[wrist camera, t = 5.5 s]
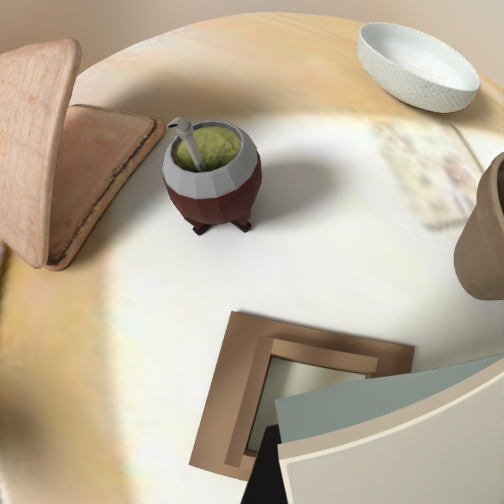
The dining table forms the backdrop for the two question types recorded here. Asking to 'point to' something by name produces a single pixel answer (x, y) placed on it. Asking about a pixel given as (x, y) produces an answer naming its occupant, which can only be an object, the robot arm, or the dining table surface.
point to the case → (59, 153)
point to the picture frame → (277, 383)
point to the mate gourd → (212, 173)
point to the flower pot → (484, 239)
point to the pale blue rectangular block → (398, 438)
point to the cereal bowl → (416, 67)
